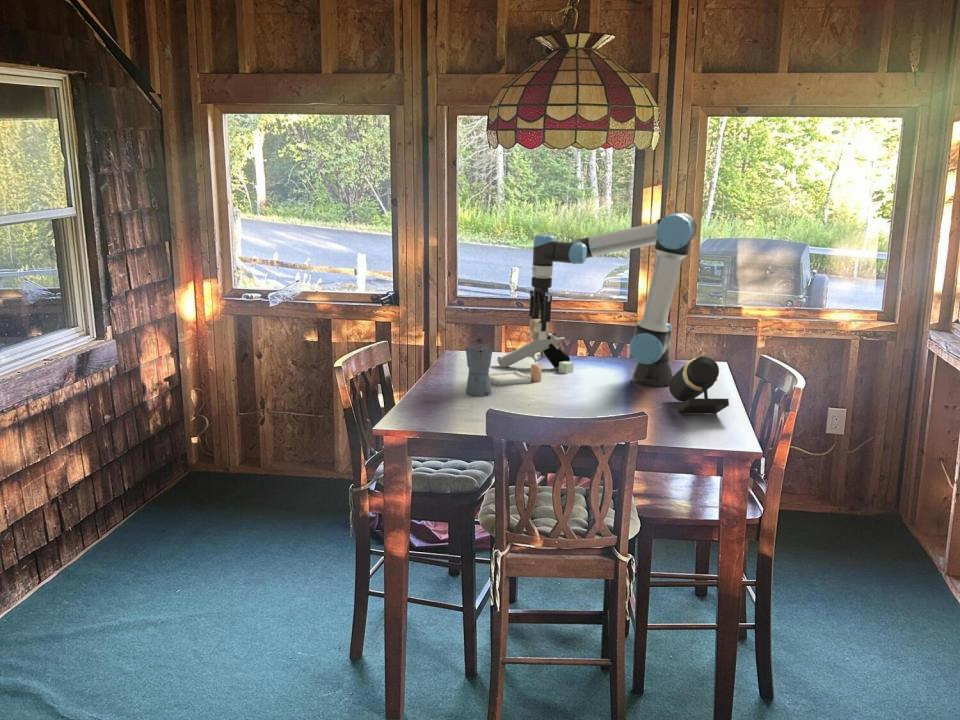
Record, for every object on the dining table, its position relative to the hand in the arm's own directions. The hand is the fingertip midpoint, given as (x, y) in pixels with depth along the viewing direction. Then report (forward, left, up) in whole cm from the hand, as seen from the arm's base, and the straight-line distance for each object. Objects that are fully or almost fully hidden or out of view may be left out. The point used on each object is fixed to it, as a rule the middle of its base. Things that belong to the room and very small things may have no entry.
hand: (538, 337), depth 339 cm
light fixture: (-58, -28, -16) cm, 66 cm away
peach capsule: (-4, +3, -16) cm, 16 cm away
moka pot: (-12, +31, -16) cm, 37 cm away
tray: (0, +13, -16) cm, 20 cm away
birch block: (0, 0, 0) cm, 0 cm away
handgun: (+15, -6, -16) cm, 23 cm away
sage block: (+4, -15, -16) cm, 22 cm away
